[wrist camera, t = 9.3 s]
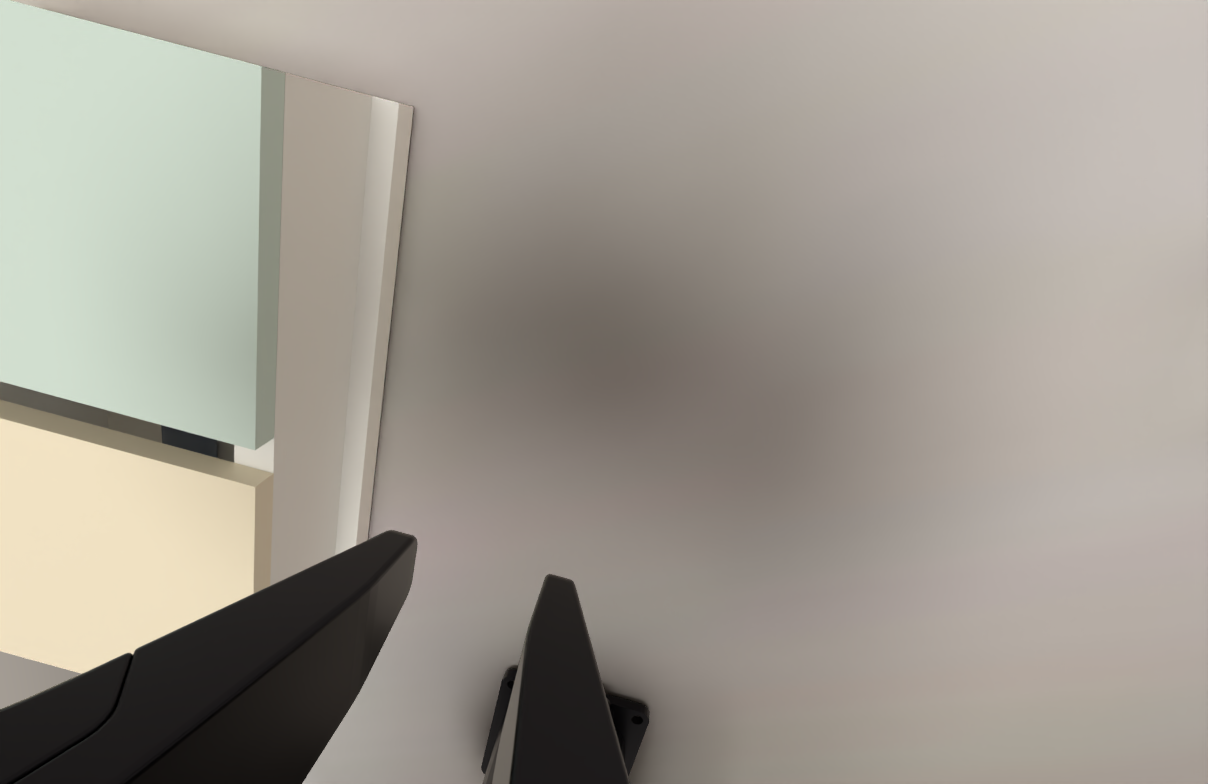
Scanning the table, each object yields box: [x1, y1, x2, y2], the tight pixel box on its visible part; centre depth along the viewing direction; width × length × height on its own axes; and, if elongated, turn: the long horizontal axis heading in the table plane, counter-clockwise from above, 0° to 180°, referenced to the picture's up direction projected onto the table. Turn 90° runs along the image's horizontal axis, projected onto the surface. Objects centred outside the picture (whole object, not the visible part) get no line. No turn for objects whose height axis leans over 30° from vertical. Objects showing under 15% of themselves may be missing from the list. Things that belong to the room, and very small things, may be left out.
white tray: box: [0, 73, 414, 586], centre depth 19 cm, size 20×12×5 cm, turn 166°
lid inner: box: [0, 400, 274, 673], centre depth 18 cm, size 9×10×1 cm
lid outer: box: [0, 0, 285, 450], centre depth 14 cm, size 9×10×1 cm
